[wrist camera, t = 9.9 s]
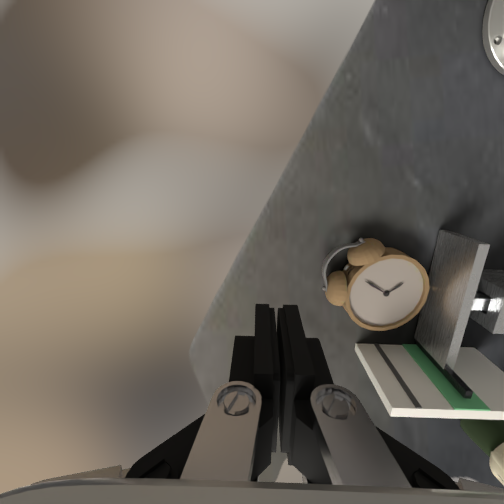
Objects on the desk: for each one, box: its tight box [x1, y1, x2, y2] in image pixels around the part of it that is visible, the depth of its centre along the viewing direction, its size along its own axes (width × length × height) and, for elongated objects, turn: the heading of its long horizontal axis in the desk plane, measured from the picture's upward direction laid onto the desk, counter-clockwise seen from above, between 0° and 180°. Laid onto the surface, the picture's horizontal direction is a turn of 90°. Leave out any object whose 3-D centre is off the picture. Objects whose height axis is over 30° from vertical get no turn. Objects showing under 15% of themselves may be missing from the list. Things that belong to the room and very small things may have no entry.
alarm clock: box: [322, 238, 430, 331], centre depth 39 cm, size 11×5×15 cm
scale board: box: [355, 343, 504, 420], centre depth 38 cm, size 1×18×12 cm, turn 88°
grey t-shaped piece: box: [414, 230, 492, 399], centre depth 36 cm, size 17×11×11 cm, turn 178°
